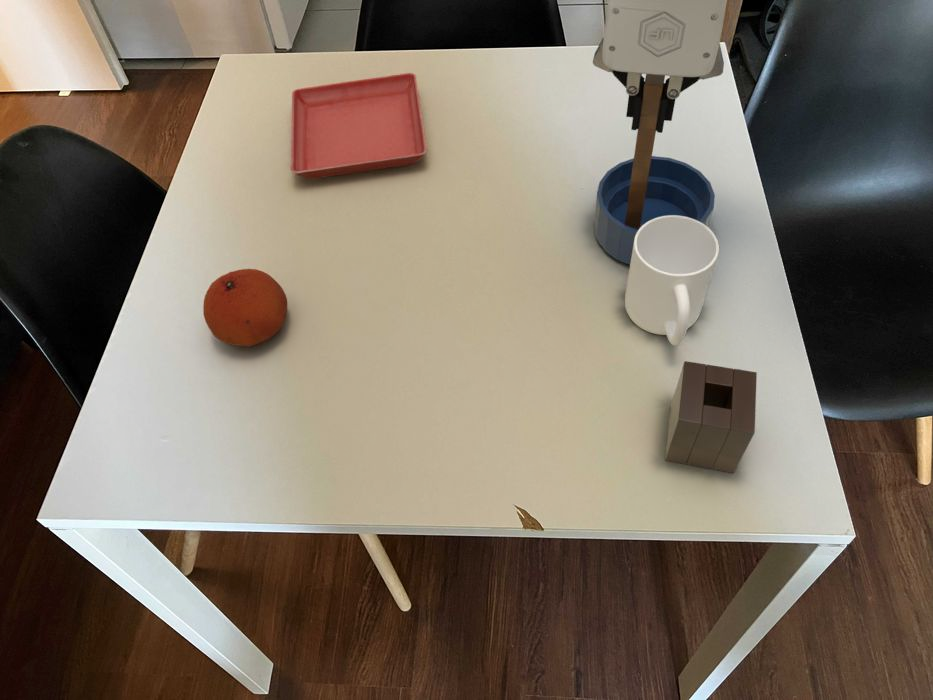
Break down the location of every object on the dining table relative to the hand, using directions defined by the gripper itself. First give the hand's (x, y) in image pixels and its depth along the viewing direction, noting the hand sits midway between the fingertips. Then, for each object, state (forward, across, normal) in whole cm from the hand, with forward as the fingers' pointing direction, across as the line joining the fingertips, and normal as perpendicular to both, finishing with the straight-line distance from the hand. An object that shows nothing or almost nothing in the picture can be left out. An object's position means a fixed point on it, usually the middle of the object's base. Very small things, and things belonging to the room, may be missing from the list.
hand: (648, 121), depth 73 cm
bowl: (+16, +2, +1) cm, 17 cm away
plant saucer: (+17, -39, +12) cm, 44 cm away
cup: (+17, +5, -12) cm, 21 cm away
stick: (+15, 0, 0) cm, 15 cm away
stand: (+16, +10, -26) cm, 32 cm away
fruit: (+17, -40, -22) cm, 49 cm away
